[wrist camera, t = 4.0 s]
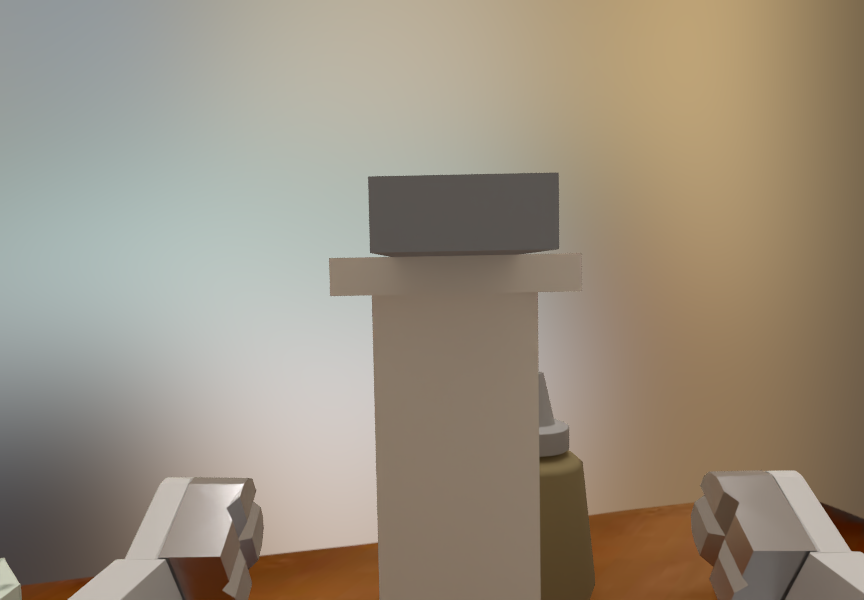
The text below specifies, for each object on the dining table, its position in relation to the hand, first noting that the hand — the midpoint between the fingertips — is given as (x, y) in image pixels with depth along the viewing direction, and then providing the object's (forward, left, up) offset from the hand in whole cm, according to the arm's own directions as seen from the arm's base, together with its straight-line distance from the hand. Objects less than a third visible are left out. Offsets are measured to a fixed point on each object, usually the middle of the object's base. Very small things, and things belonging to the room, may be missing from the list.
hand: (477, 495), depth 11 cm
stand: (0, +18, -21) cm, 28 cm away
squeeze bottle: (+6, +31, -22) cm, 39 cm away
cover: (0, +15, +5) cm, 16 cm away
